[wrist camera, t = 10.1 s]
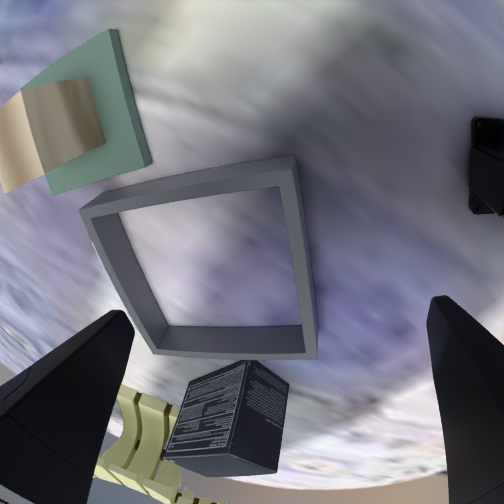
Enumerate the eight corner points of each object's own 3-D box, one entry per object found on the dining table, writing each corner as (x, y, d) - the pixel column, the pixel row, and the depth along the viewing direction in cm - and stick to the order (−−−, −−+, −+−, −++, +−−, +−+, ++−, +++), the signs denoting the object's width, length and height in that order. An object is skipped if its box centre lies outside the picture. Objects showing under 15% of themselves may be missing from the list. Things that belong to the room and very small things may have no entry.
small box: (227, 406, 35) (206, 479, 26) (187, 381, 33) (158, 457, 24) (293, 385, 30) (279, 476, 21) (250, 354, 28) (224, 454, 19)
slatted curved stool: (90, 402, 47) (55, 473, 32) (69, 359, 38) (16, 447, 23) (238, 456, 46) (217, 538, 31) (257, 428, 37) (230, 541, 22)
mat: (117, 29, 14) (108, 28, 13) (152, 162, 19) (145, 167, 18) (29, 86, 17) (20, 88, 16) (60, 191, 22) (53, 196, 21)
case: (295, 155, 17) (292, 169, 15) (318, 331, 24) (317, 359, 22) (96, 194, 21) (73, 211, 19) (159, 331, 28) (148, 353, 26)
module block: (88, 76, 15) (20, 89, 10) (106, 143, 18) (44, 173, 13) (44, 103, 16) (-17, 124, 11) (61, 161, 19) (4, 193, 14)
